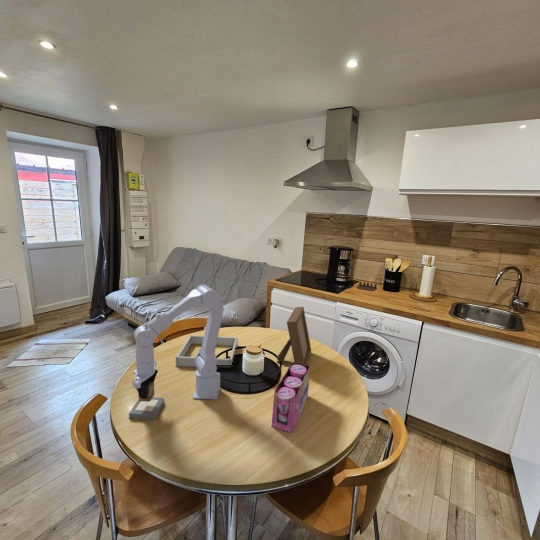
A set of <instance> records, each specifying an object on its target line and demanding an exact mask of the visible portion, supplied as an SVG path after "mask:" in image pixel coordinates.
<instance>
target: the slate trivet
mask: <svg viewBox="0 0 540 540" xmlns="http://www.w3.org/2000/svg"><path fill="white" fill-rule="evenodd" d="M164 404H165V398H164V397H153V398H152V399H151V401H150V402H147V401H139V398H137V400H136V402H135V404H134V405H133V407H132V408H131V410H130V411H129V413H128V419H135V420H136V419H139V420H156V418H157V416H158V415H159V414H160V411H161V410H162V408H163V405H164Z"/></svg>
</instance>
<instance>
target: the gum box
mask: <svg viewBox="0 0 540 540" xmlns="http://www.w3.org/2000/svg"><path fill="white" fill-rule="evenodd" d="M310 373H311V365H305V364H301V363H296V362H294V361H292V362H291V363H290V365H289V367H288V369H287V370H286V372H285V373H284V375H283V377H282V378H281V380H280V382H279V383H278V385H277V386H276V388H275V390H274V393H273V404H272V406H273V407H272V413H271V414H272V415H271V427H272V428H276V429H279V430H281V431H284V432H285V431H286V432H288V433H291V434H292V433H293V432H294V429H295V427H296V425H297V422H298V420H299V418H300V416H301V413H302V411H303V409H304V407H305V404H306V402H307V399H308V397H309V385H310Z"/></svg>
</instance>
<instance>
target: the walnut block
mask: <svg viewBox="0 0 540 540" xmlns="http://www.w3.org/2000/svg"><path fill="white" fill-rule="evenodd" d="M137 393H138V392H137ZM137 395H138V399H139V401H147V402H150V401H151V399H152V398H154V396H155V381H154V382H151V383H150V385H149V389H148V396H147V399H141V398H140V396H139V393H138V394H137Z"/></svg>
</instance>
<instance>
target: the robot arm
mask: <svg viewBox="0 0 540 540" xmlns="http://www.w3.org/2000/svg"><path fill="white" fill-rule="evenodd" d="M203 306H205V307H206V308H207V310H208V316H207V320H206V325H205V330H204V335H203V336H204V338H203V343H202V344H201V348H199V349H198V351H197V353H196V355H195V356H194V357H195V359H194V364H195V366H197V367H196V371H195V391H194V394H193V396H192V399H197V400H217V399H218V397H219V394H220V392H221V391H220V390H221V373H220V372H217V369H218V368H217V366H216V358H217V357H216V348H217V345H216V343H217V339H218V337H219V333H220V329H221V324H222V320H223V314H224V311H225V309H224V304H223V302H222V296H221V295H220V294H219V293H218V292H217V290H214V289H212V288H211V287H210V286H209V285H207V284H200V285H198V286H197V287H196V288H194V289H192V290H191V291H190V292H189V293H188V295H186V296H185V297H184V298H183V299H181V300H180V301H179V302H178V303H177V304H176V305H175V306H173V307H172V308H171V309H169V310H168V311H162V312H160V313H159V312H157V313H156V314H155V317H153V318H152V319H150V320H149V321H148V322H145V323H143V325H139V326H138V327H137V328H135V330H134V332H133V337H134V339H135V362H136V369H134V371H133V374H134V375H135V377H134V381H133V382H132V386H133V388H134V389H136V391H137V393H139V396H140V398H141V399H147V396H148V389H149V385H150V383H151V382H154V383H155V379H156V377H157V375H158V372H159V371H158V370H159V369H156V367H157V360H155V358H154V357H155V355H154V353H155V352H154V351H155V350H154V349H155V348H154V342H155V340H156V338H157V337H158V336H159V335H160V334H162V333H164V331H166V330H167V329H168V328H170V327H171V326H172V325H173V323H174V320H175V319H177V318H178V317H179V316H181V315H183V314H184V313H185V312H187V311H188V310H190V309H191V308H193V307H195V308H196V307H197V308H202V307H203Z"/></svg>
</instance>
